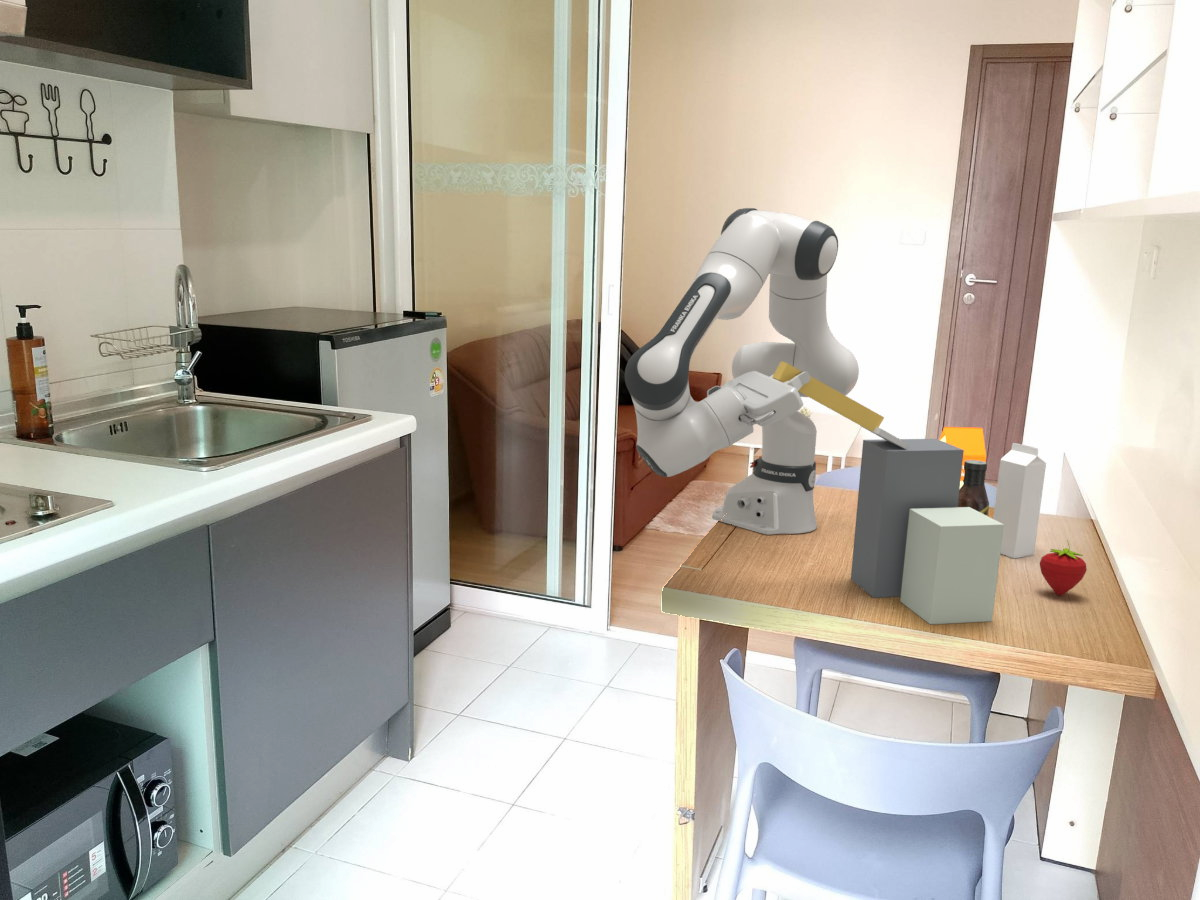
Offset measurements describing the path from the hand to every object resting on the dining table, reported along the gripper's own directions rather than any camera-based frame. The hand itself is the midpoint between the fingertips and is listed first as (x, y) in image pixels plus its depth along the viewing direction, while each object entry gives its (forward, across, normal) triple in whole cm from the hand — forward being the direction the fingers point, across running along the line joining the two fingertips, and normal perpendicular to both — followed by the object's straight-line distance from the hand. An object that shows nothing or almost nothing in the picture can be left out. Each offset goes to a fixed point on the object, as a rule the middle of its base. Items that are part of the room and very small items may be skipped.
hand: (802, 372), depth 158 cm
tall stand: (-1, 0, +44) cm, 44 cm away
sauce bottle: (+16, +12, +54) cm, 58 cm away
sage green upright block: (+1, -11, +45) cm, 47 cm away
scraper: (+3, 0, +9) cm, 9 cm away
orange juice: (+30, +43, +62) cm, 82 cm away
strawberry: (+22, -7, +58) cm, 62 cm away
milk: (+27, +16, +60) cm, 68 cm away
